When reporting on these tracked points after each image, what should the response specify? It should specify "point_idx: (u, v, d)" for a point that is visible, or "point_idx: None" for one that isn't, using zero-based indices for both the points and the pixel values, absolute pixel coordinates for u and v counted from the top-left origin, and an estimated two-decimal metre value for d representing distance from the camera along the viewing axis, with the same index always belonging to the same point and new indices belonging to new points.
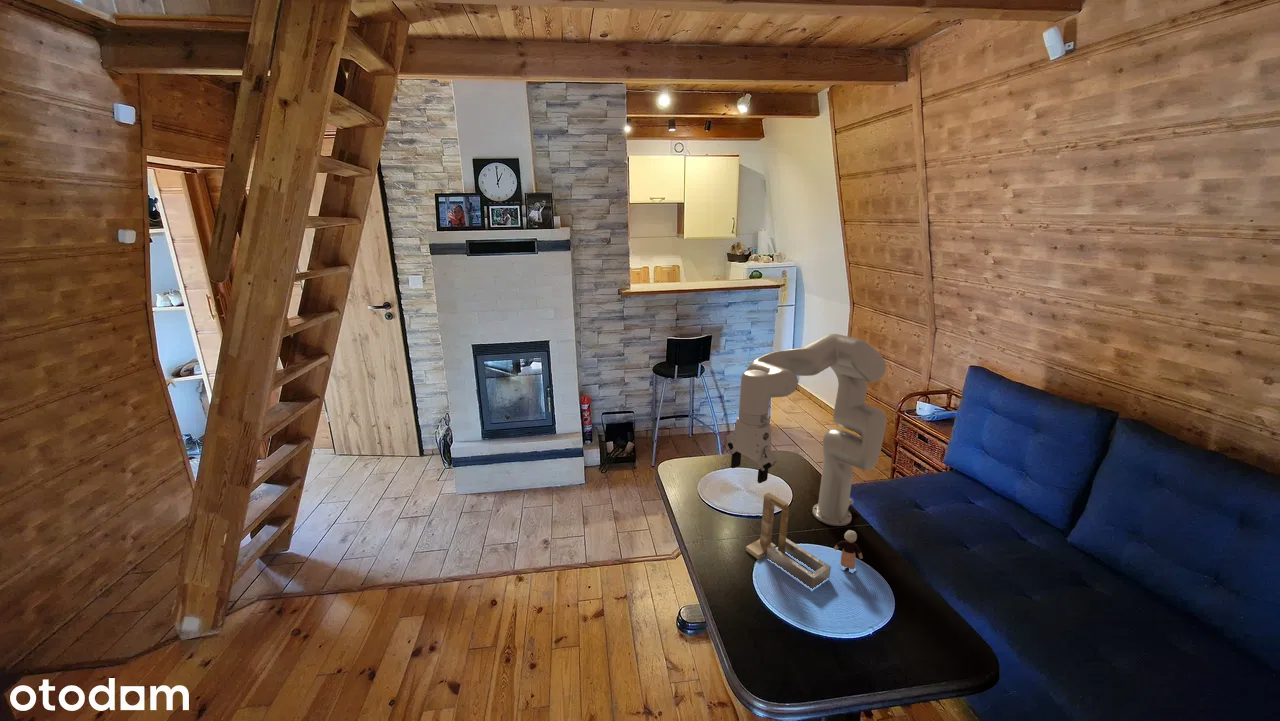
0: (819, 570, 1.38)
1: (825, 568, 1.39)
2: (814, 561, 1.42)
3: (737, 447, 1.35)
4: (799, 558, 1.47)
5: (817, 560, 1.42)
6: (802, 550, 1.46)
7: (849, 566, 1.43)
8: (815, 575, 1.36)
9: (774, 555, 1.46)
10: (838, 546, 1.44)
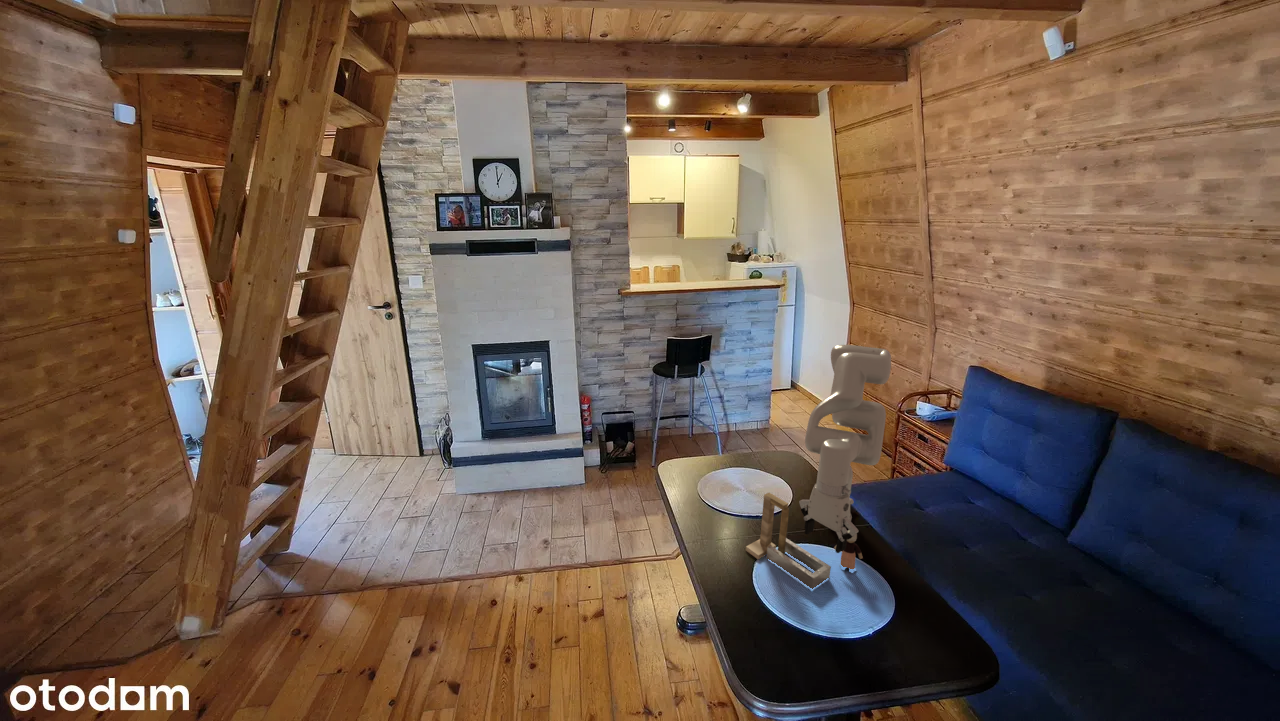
0: (819, 570, 1.38)
1: (825, 568, 1.39)
2: (814, 561, 1.42)
3: (813, 515, 1.33)
4: (799, 558, 1.47)
5: (817, 560, 1.42)
6: (802, 550, 1.46)
7: (849, 566, 1.43)
8: (815, 575, 1.36)
9: (774, 555, 1.46)
10: None
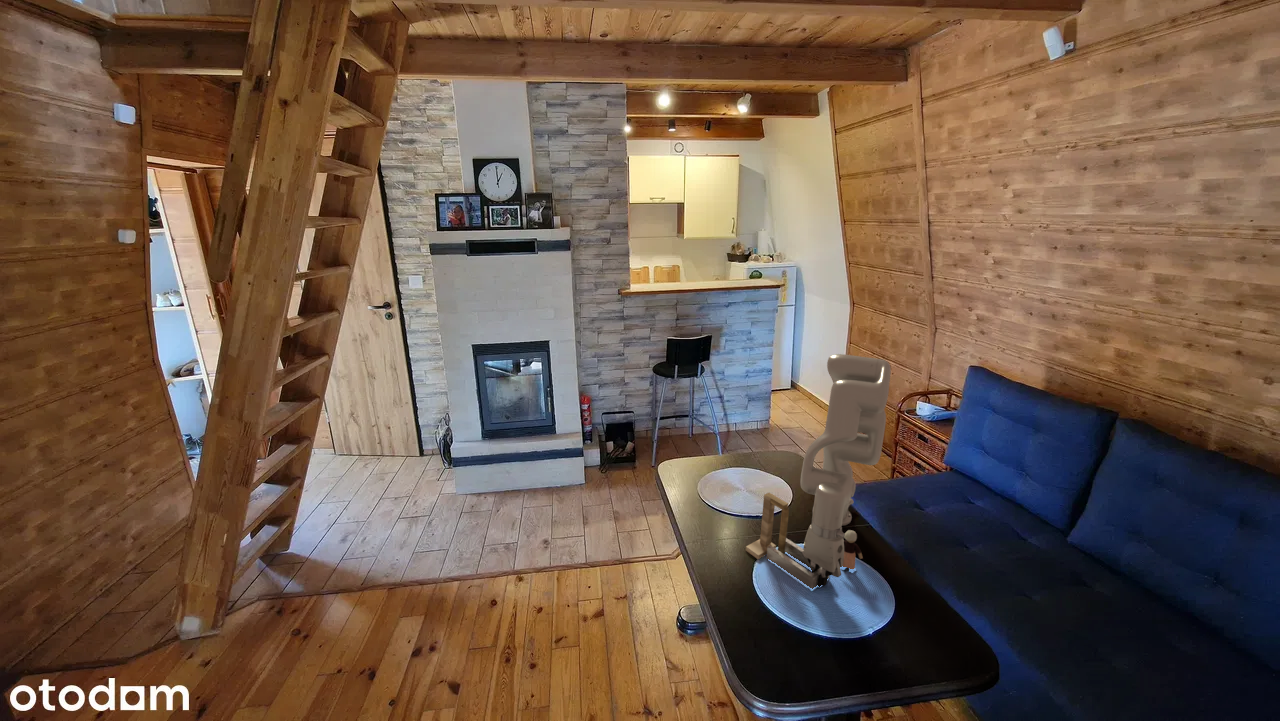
0: (819, 570, 1.38)
1: None
2: None
3: (808, 554, 1.37)
4: (799, 558, 1.47)
5: None
6: (802, 550, 1.46)
7: (849, 566, 1.43)
8: (815, 575, 1.36)
9: (774, 555, 1.46)
10: None
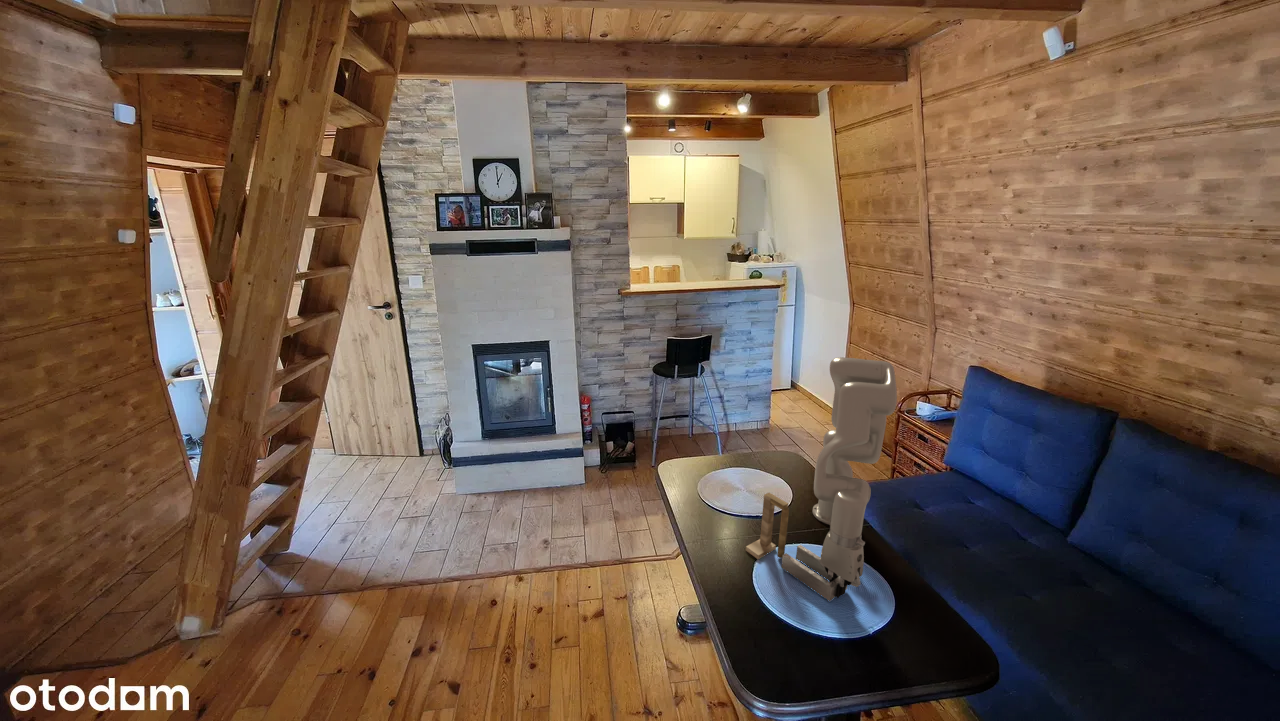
0: (837, 579, 1.33)
1: None
2: None
3: (826, 563, 1.33)
4: (815, 566, 1.42)
5: None
6: (818, 558, 1.41)
7: None
8: (833, 585, 1.32)
9: (789, 563, 1.41)
10: None
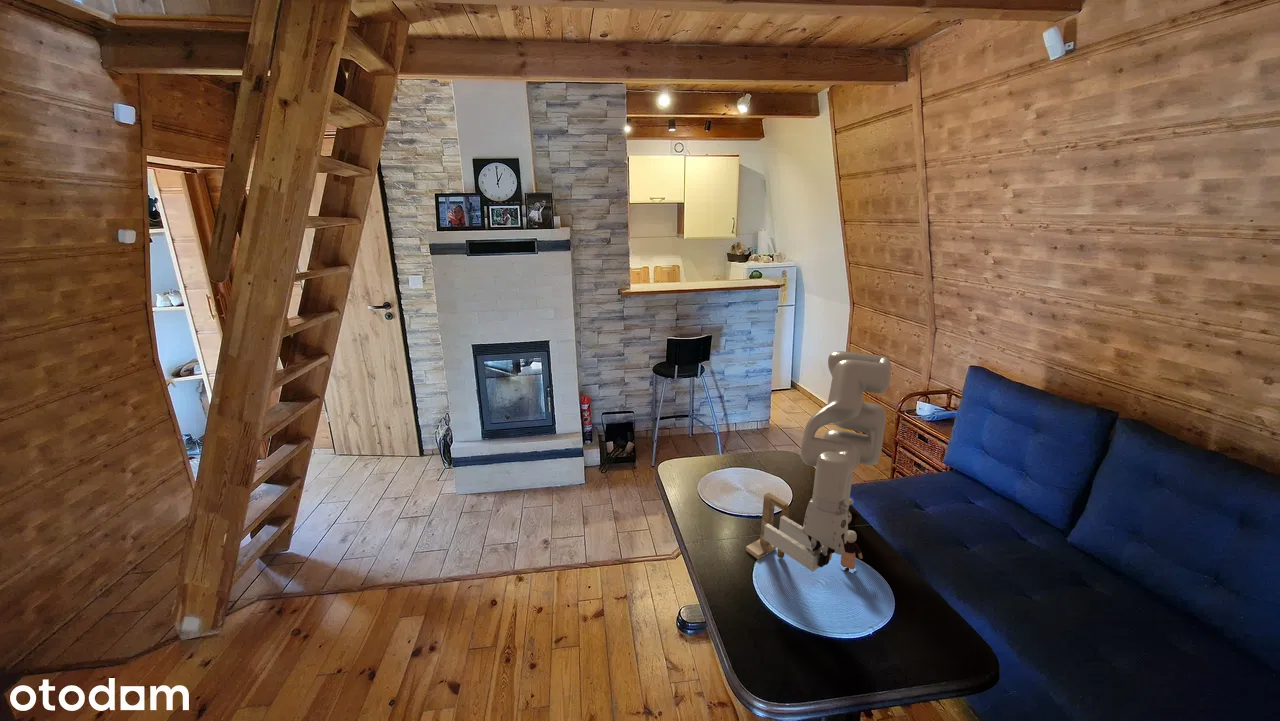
0: (820, 548, 1.27)
1: None
2: None
3: (809, 531, 1.27)
4: (799, 537, 1.36)
5: None
6: (802, 528, 1.35)
7: (849, 566, 1.43)
8: (816, 553, 1.25)
9: (772, 533, 1.35)
10: None
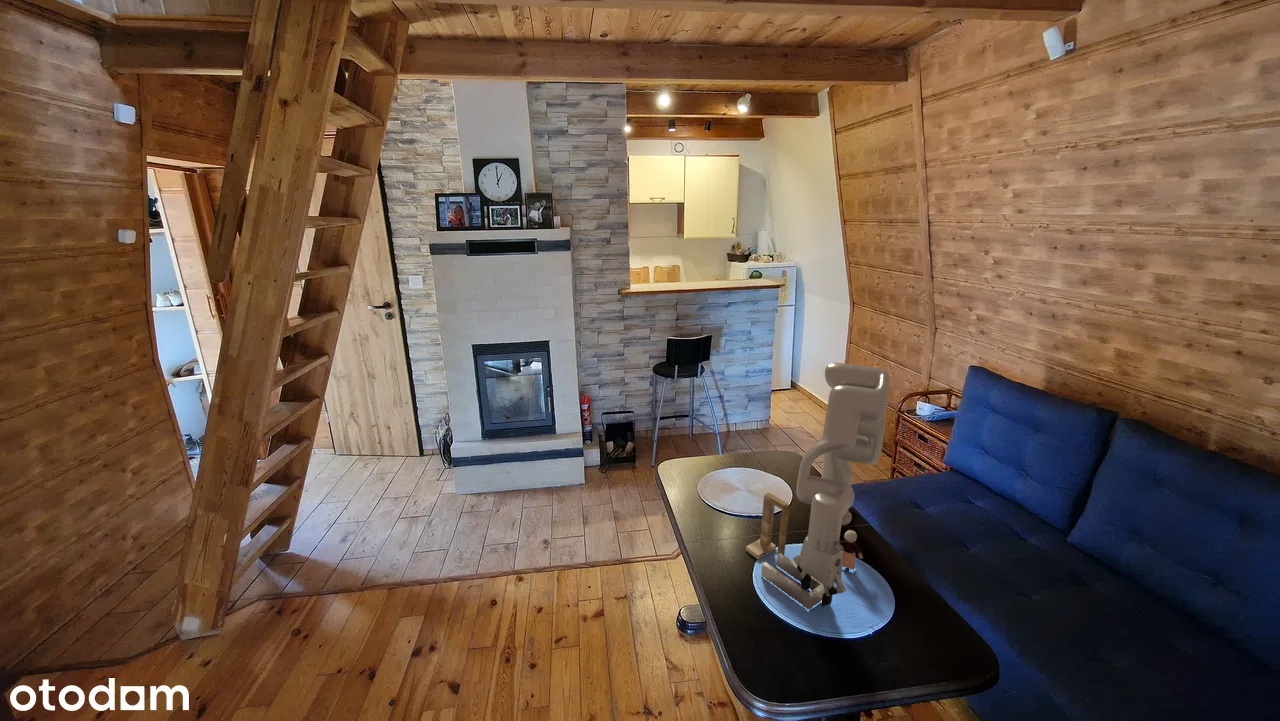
0: (816, 589, 1.31)
1: (822, 587, 1.32)
2: (811, 579, 1.35)
3: (804, 567, 1.30)
4: (795, 575, 1.40)
5: None
6: None
7: (849, 566, 1.43)
8: (812, 595, 1.29)
9: (769, 572, 1.39)
10: None
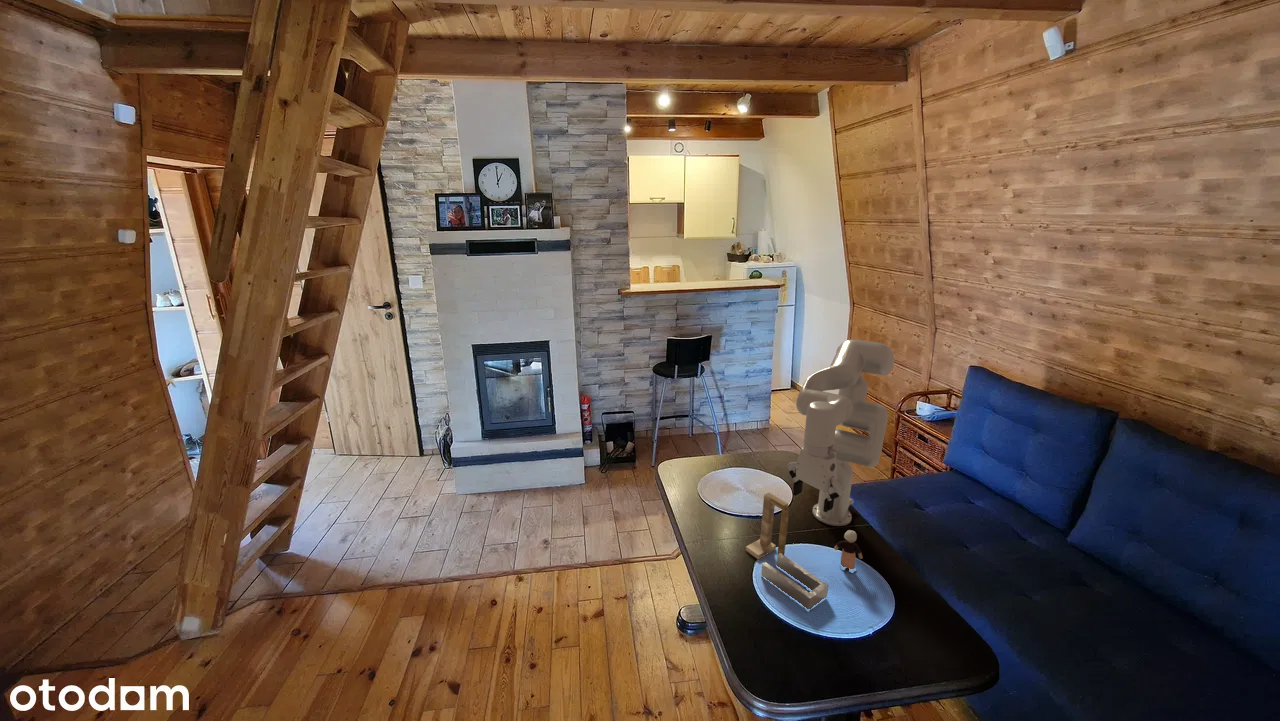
0: (816, 589, 1.31)
1: (822, 587, 1.32)
2: (811, 579, 1.35)
3: (801, 476, 1.35)
4: (795, 575, 1.40)
5: (814, 578, 1.35)
6: (798, 567, 1.39)
7: (849, 566, 1.43)
8: (812, 595, 1.29)
9: (769, 572, 1.39)
10: (838, 546, 1.44)
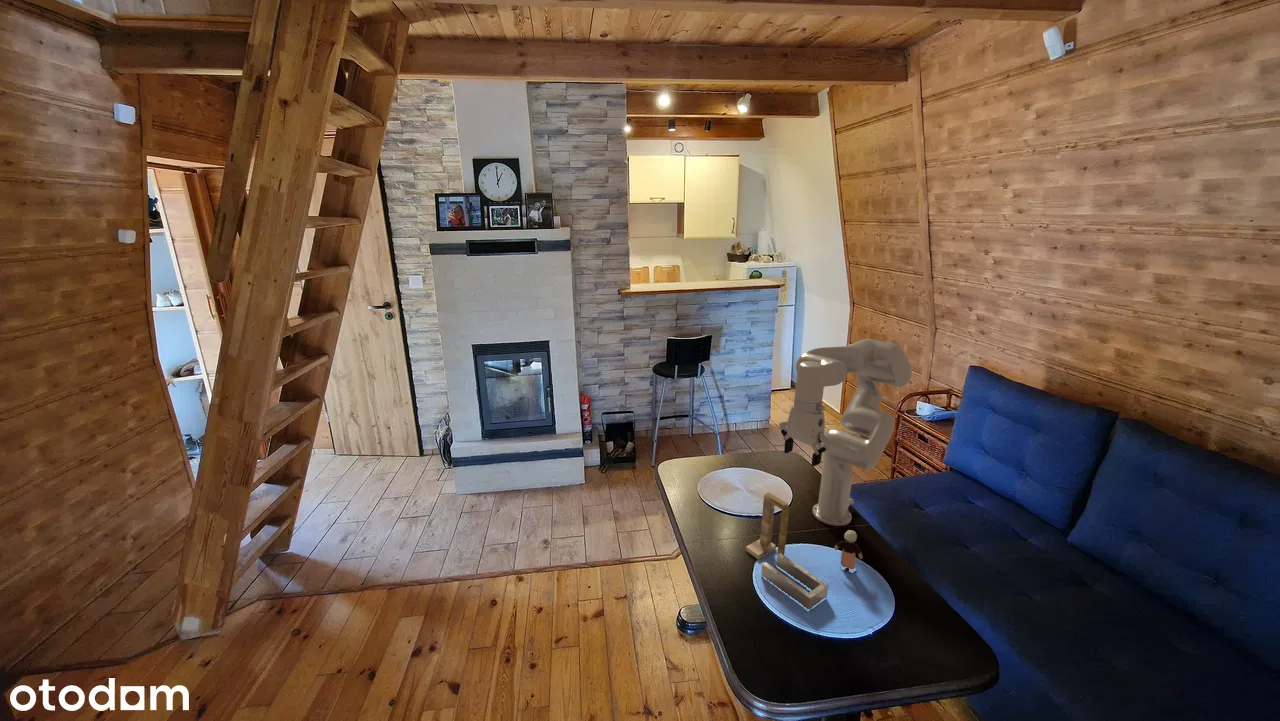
0: (816, 589, 1.31)
1: (822, 587, 1.32)
2: (811, 579, 1.35)
3: (791, 433, 1.45)
4: (795, 575, 1.40)
5: (814, 578, 1.35)
6: (798, 567, 1.39)
7: (849, 566, 1.43)
8: (812, 595, 1.29)
9: (769, 572, 1.39)
10: (838, 546, 1.44)
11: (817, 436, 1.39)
